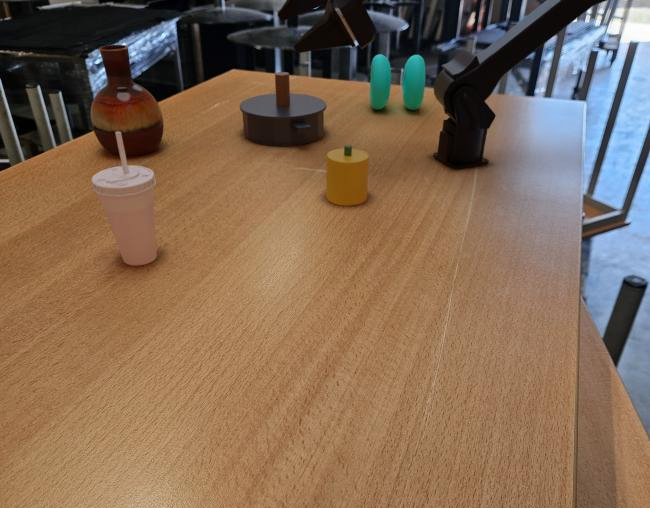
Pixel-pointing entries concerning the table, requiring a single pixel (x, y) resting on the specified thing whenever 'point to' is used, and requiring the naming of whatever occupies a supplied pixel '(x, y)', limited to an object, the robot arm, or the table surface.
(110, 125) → the vase
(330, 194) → the pepper
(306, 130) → the pan
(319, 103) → the pan lid
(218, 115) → the table surface
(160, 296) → the table surface
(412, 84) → the teal upright capsules
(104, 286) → the table surface
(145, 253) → the smoothie
